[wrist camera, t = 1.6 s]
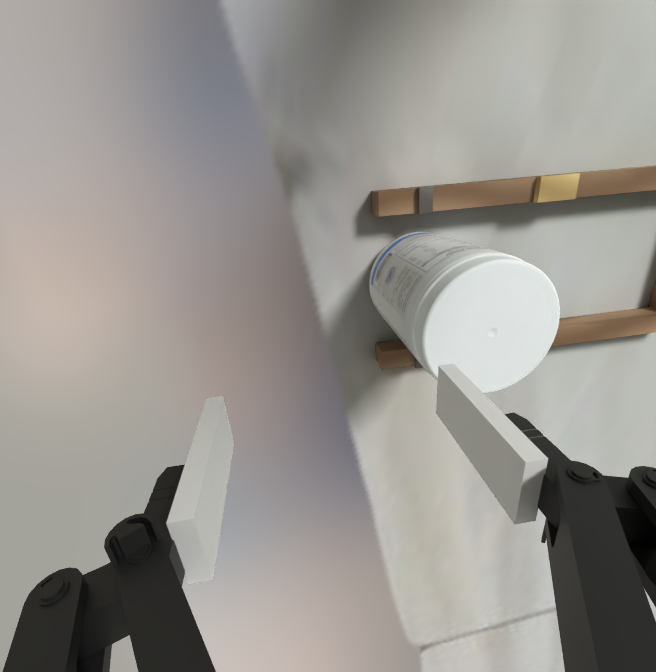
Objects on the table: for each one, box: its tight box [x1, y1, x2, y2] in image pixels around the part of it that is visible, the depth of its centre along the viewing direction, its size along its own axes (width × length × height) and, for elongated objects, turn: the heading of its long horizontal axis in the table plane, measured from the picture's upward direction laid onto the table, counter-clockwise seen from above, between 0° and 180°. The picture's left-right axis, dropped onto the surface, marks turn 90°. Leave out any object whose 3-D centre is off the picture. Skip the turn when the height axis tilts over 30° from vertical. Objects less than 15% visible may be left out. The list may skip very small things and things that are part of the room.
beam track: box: [371, 166, 656, 370], centre depth 36 cm, size 17×34×3 cm, turn 95°
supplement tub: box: [369, 232, 560, 394], centre depth 30 cm, size 10×10×15 cm
